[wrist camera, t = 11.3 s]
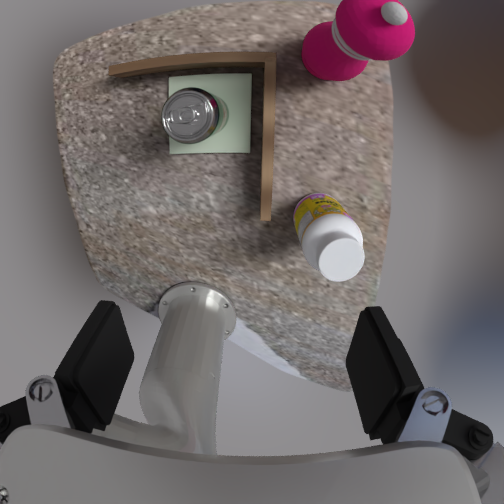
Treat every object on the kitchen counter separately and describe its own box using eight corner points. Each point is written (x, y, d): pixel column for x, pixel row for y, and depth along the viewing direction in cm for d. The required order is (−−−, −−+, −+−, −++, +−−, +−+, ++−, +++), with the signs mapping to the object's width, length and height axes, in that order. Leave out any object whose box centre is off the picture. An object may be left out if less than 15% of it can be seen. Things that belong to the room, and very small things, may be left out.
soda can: (229, 134, 33) (218, 144, 22) (188, 135, 33) (158, 147, 22) (229, 94, 31) (218, 84, 20) (187, 96, 31) (156, 89, 20)
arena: (269, 209, 38) (270, 220, 34) (129, 209, 38) (118, 220, 34) (274, 59, 29) (276, 52, 25) (122, 69, 29) (108, 66, 25)
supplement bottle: (349, 205, 37) (387, 246, 26) (325, 245, 40) (350, 299, 29) (306, 182, 36) (331, 216, 25) (283, 225, 39) (295, 276, 27)
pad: (250, 152, 34) (250, 152, 34) (170, 153, 34) (169, 154, 34) (251, 74, 30) (251, 73, 29) (170, 77, 30) (169, 77, 29)
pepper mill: (344, 29, 27) (423, -30, 9) (360, 79, 30) (458, 61, 12) (289, 37, 28) (328, -35, 10) (307, 89, 31) (367, 64, 13)
